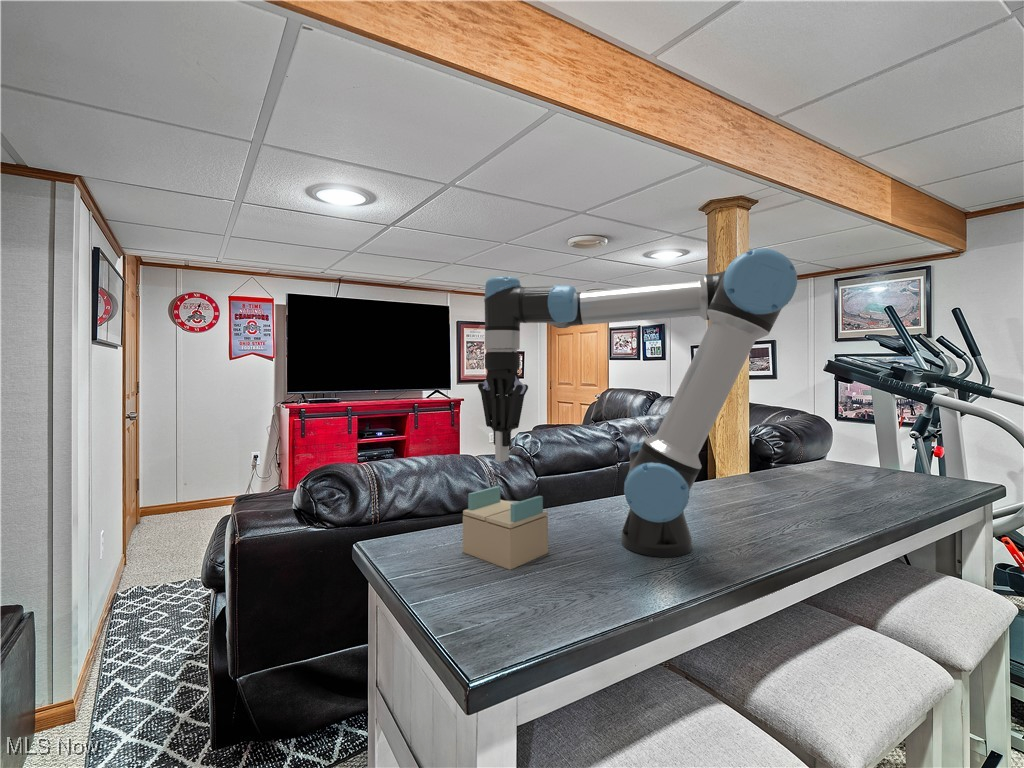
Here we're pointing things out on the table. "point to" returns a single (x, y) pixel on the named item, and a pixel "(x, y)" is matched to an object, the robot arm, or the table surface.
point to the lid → (486, 503)
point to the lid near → (520, 513)
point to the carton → (505, 541)
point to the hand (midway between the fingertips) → (502, 460)
